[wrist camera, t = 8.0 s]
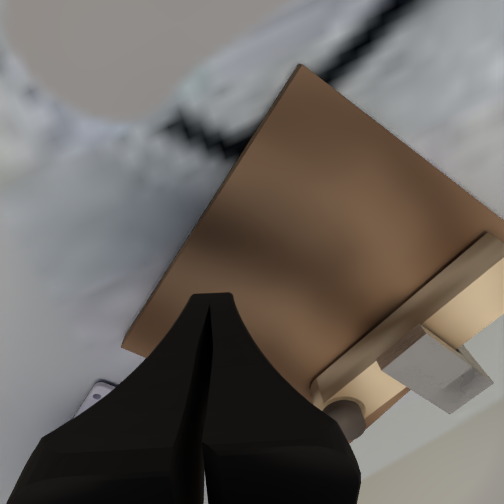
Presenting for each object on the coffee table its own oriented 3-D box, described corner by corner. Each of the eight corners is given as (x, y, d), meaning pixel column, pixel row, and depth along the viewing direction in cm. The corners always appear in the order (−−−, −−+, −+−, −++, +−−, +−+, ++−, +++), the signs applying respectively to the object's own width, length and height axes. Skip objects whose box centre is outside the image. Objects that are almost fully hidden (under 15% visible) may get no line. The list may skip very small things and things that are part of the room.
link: (332, 410, 26) (344, 451, 23) (300, 391, 25) (309, 432, 22) (518, 262, 21) (560, 293, 18) (488, 232, 20) (528, 259, 17)
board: (346, 431, 29) (349, 443, 28) (124, 335, 23) (120, 347, 22) (542, 252, 22) (555, 261, 21) (298, 63, 17) (302, 64, 16)
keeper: (421, 367, 25) (449, 414, 21) (359, 326, 23) (381, 370, 20) (458, 338, 24) (493, 383, 20) (397, 292, 22) (426, 333, 18)
